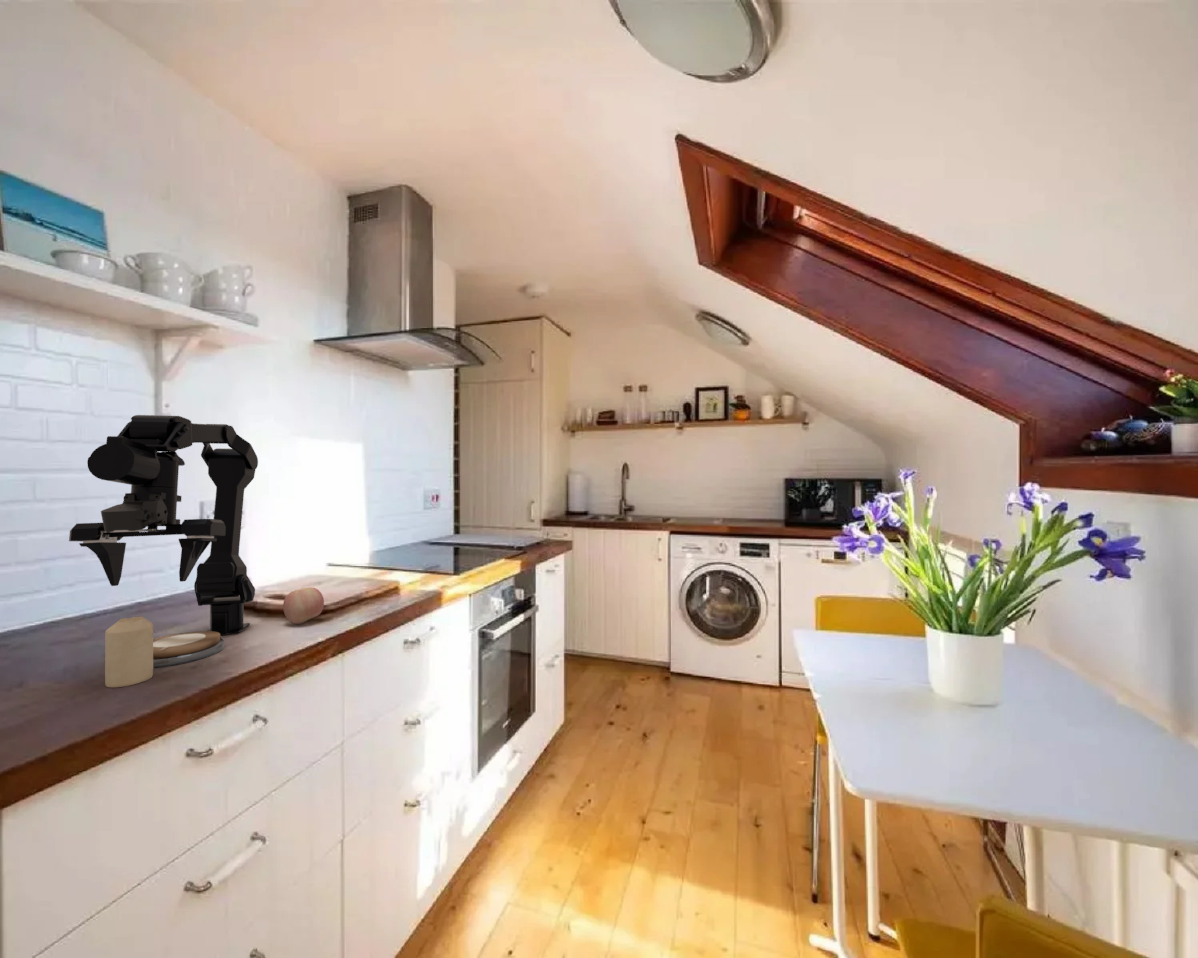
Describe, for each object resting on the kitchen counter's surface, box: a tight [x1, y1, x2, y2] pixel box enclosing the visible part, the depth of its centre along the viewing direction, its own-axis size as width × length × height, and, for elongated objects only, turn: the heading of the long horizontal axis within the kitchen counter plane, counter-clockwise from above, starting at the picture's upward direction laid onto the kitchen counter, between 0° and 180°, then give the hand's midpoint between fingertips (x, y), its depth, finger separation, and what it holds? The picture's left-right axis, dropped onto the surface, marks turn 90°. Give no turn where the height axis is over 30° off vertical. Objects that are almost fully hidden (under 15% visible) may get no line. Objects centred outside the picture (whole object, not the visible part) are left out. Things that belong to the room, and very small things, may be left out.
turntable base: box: [153, 637, 225, 669], centre depth 89 cm, size 13×13×1 cm
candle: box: [104, 616, 154, 688], centre depth 77 cm, size 6×6×10 cm
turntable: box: [153, 630, 221, 659], centre depth 89 cm, size 12×12×1 cm
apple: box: [282, 586, 325, 625], centre depth 109 cm, size 8×8×8 cm
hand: (149, 583), depth 78 cm, fingers open, 9 cm apart
